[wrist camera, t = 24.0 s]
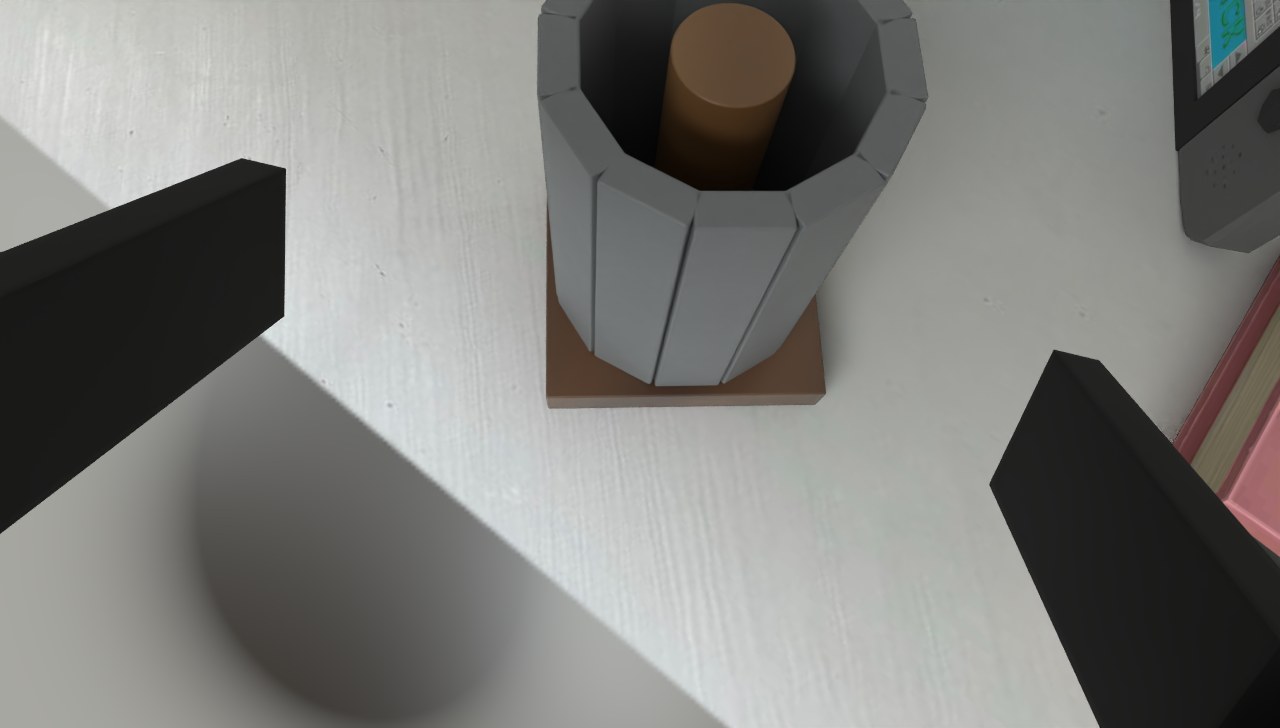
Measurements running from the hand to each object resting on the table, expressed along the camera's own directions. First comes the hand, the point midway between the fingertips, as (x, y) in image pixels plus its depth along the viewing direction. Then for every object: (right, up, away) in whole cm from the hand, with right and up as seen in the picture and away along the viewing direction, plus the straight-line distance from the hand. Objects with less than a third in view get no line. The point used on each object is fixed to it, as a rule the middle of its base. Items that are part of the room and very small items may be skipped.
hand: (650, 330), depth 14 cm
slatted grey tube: (+1, +3, +17) cm, 17 cm away
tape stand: (+1, +3, +18) cm, 19 cm away
